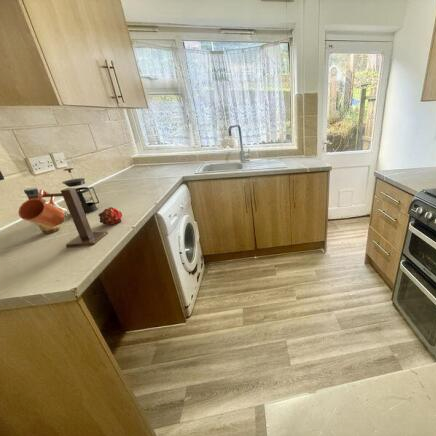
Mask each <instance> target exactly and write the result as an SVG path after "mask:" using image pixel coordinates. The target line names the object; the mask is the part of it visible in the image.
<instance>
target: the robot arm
mask: <svg viewBox="0 0 436 436" xmlns="http://www.w3.org/2000/svg"><path fill="white" fill-rule="evenodd" d="M4 180H5V177H4V175H3V173H2V171H1V170H0V181H4Z"/></svg>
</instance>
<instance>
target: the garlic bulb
mask: <svg viewBox="0 0 436 436" xmlns="http://www.w3.org/2000/svg"><path fill="white" fill-rule="evenodd" d="M53 205H54V206H57V207H59V208H61V209H62V210H63V211H64V212H65V216H66V215H68V214H69V210H67V209H68V208H67V209H66V208H65V207H61V206H60V205H58V204H57V202H56V201H54V202H53Z"/></svg>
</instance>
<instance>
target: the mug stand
mask: <svg viewBox="0 0 436 436" xmlns="http://www.w3.org/2000/svg"><path fill="white" fill-rule="evenodd" d="M75 188H76V187H67V188H63V189H61V190H60V192H58V193H50V194H44V193H43V195H42V198H51V197H55V198H58V197H59V198H60V197H62V198H63V200H64V203H65V205H66V207H67V209H68V210H67V211H68V213H69V215H70V216H71V218H72V221H73V224H74V227H75V228H76V230H77V234H78V235H77V236H76V237H75V238H73V239H71V240H69V241H68V242H67V243H66V244H65V247H66V248H67V249H68V248H79V247H88V246H95V245H96V244H97V243H98V242H100V241H101V240H102V239H103V238H105V237H106V236H107V235H108V234H109V232H108V230H105V231H92V227H91V225H90V222H89V221H88V218H87V214H85V213H84V210H83V207H82V205H81V202H80V200H79V197H78V195H77V192H76V190H75ZM38 195H39V194H36V195H28V196H27V195H26V197H27V199H28V198H38Z"/></svg>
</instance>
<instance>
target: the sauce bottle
mask: <svg viewBox="0 0 436 436" xmlns="http://www.w3.org/2000/svg"><path fill="white" fill-rule="evenodd" d="M39 191H40V190H39V189H38V188H37V187H29V188H25V189H23V192H24V194H25V195H26V197H27V196H28V195H36V194H39ZM27 199H28V200H30V199H34V198H28V197H27ZM41 200H43V201H46V202H48V201H47V200H46V199H44V198H42V199H41ZM37 226H38V228H39V230H40V231H41V232H42V233H43V234H51V233H54V232H57V231H60V229H61V227H60V225H58V226H56V227H52V228H48V227H45V226H42V225H39V224H37Z"/></svg>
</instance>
